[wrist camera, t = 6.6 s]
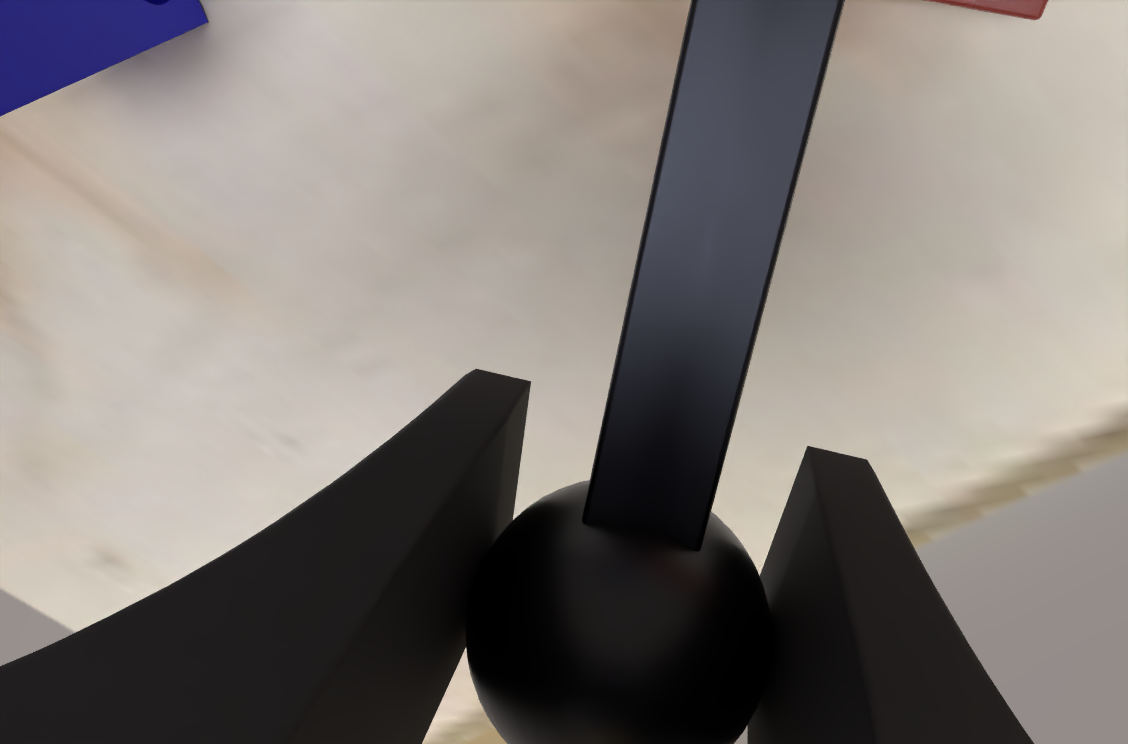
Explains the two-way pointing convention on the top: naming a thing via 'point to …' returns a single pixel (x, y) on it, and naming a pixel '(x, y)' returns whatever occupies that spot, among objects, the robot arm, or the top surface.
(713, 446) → the lever
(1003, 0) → the bracket
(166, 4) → the blue cradle block
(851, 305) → the top surface
